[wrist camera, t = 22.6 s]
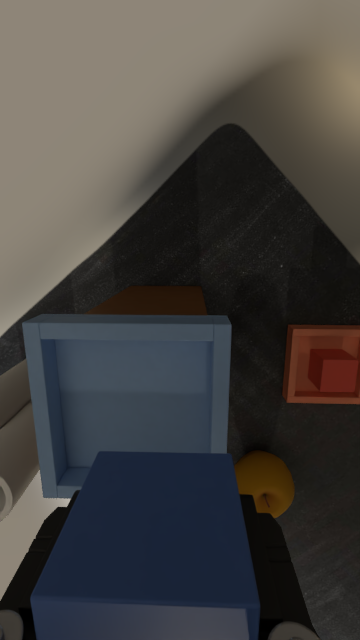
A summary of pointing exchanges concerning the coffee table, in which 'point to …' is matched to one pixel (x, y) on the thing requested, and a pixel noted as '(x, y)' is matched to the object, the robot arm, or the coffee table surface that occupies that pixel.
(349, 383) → the red block
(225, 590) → the blue block
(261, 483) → the apple
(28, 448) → the vase
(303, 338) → the red tray
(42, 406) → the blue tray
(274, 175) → the coffee table surface
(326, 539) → the coffee table surface
